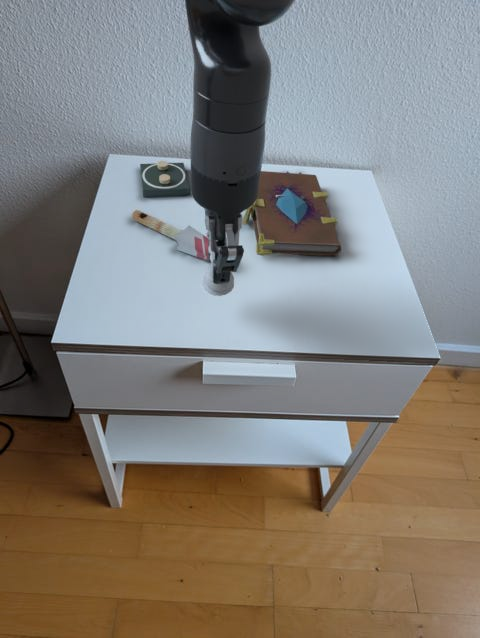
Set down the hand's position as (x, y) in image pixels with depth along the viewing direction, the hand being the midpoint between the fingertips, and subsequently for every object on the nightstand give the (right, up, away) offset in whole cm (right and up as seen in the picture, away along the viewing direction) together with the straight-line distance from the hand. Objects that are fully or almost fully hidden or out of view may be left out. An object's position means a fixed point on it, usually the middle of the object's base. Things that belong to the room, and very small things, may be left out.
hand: (218, 270), depth 58 cm
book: (+11, +13, +22) cm, 28 cm away
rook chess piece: (0, -2, +3) cm, 3 cm away
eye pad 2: (-11, +19, +21) cm, 30 cm away
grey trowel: (-7, +6, +14) cm, 17 cm away
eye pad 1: (-12, +23, +24) cm, 35 cm away
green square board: (-12, +20, +24) cm, 33 cm away
